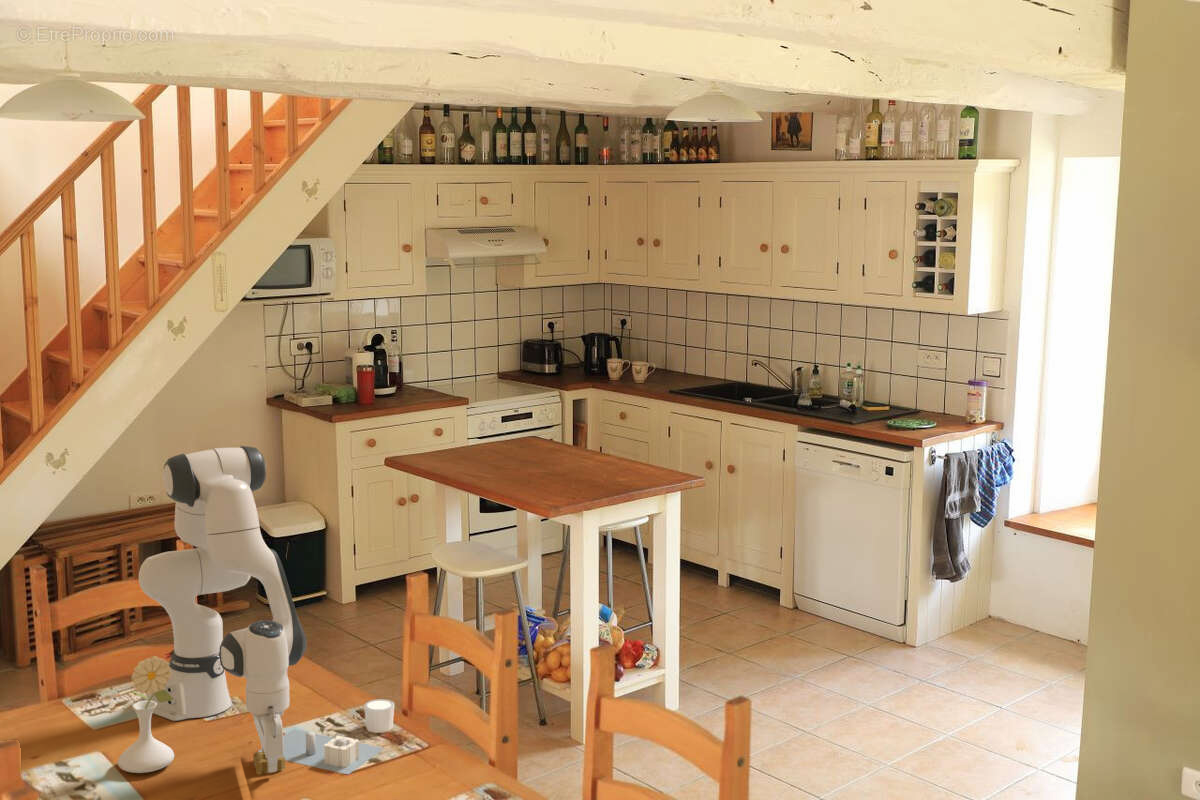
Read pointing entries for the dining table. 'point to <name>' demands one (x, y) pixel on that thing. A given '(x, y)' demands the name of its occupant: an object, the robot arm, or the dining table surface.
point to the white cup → (379, 715)
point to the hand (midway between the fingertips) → (269, 761)
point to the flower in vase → (148, 718)
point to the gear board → (320, 751)
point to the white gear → (341, 752)
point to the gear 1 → (261, 763)
